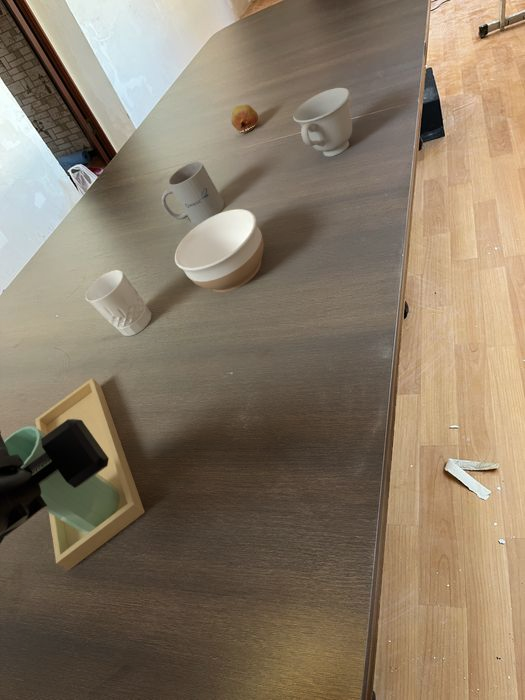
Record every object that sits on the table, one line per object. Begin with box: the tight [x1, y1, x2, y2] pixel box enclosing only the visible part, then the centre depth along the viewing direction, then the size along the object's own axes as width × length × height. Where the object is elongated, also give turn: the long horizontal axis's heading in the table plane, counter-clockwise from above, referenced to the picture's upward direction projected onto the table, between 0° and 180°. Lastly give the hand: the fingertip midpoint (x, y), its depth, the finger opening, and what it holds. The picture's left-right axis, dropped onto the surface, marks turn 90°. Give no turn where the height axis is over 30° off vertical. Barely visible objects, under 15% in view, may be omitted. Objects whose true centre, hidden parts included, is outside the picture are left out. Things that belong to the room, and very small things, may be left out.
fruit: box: [230, 104, 259, 134], centre depth 132 cm, size 7×7×10 cm
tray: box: [34, 377, 145, 571], centre depth 72 cm, size 30×12×2 cm, turn 29°
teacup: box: [292, 87, 353, 158], centre depth 101 cm, size 12×15×10 cm
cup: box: [3, 425, 119, 534], centre depth 60 cm, size 7×7×15 cm
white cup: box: [85, 269, 152, 337], centre depth 90 cm, size 8×8×10 cm
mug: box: [161, 160, 225, 225], centre depth 109 cm, size 12×9×10 cm
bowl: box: [174, 208, 265, 293], centre depth 88 cm, size 16×16×8 cm
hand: (50, 482), depth 59 cm, fingers open, 9 cm apart
